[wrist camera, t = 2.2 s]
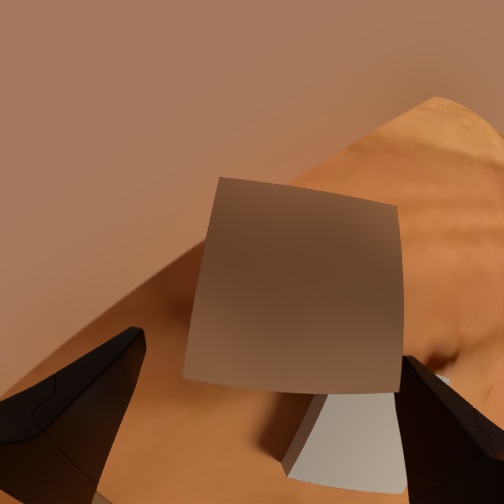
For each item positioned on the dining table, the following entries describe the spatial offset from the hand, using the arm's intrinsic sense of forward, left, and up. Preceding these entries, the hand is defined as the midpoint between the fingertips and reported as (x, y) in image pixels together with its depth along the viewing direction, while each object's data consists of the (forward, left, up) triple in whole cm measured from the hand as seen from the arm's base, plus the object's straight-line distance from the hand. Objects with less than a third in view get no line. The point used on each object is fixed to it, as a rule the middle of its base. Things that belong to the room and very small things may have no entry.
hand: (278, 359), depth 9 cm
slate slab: (-9, -1, -10) cm, 13 cm away
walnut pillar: (+1, -1, -9) cm, 9 cm away
